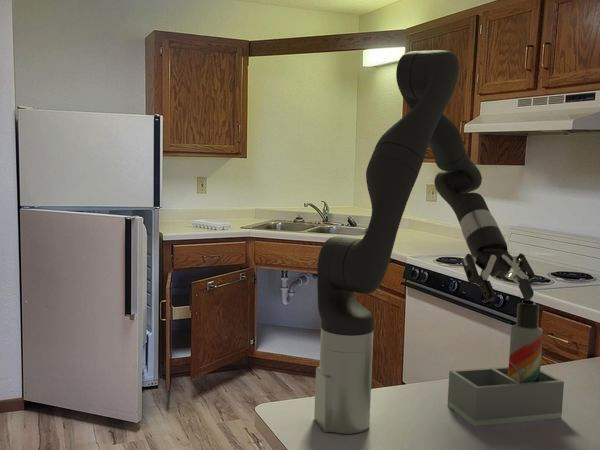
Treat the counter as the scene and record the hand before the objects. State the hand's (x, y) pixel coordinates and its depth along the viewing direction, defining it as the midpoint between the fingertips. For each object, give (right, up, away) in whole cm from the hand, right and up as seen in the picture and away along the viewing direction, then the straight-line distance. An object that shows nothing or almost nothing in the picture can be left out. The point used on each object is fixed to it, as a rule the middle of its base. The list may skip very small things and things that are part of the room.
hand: (511, 298), depth 117 cm
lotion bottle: (+1, -20, -4) cm, 20 cm away
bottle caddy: (-3, -21, -5) cm, 22 cm away
